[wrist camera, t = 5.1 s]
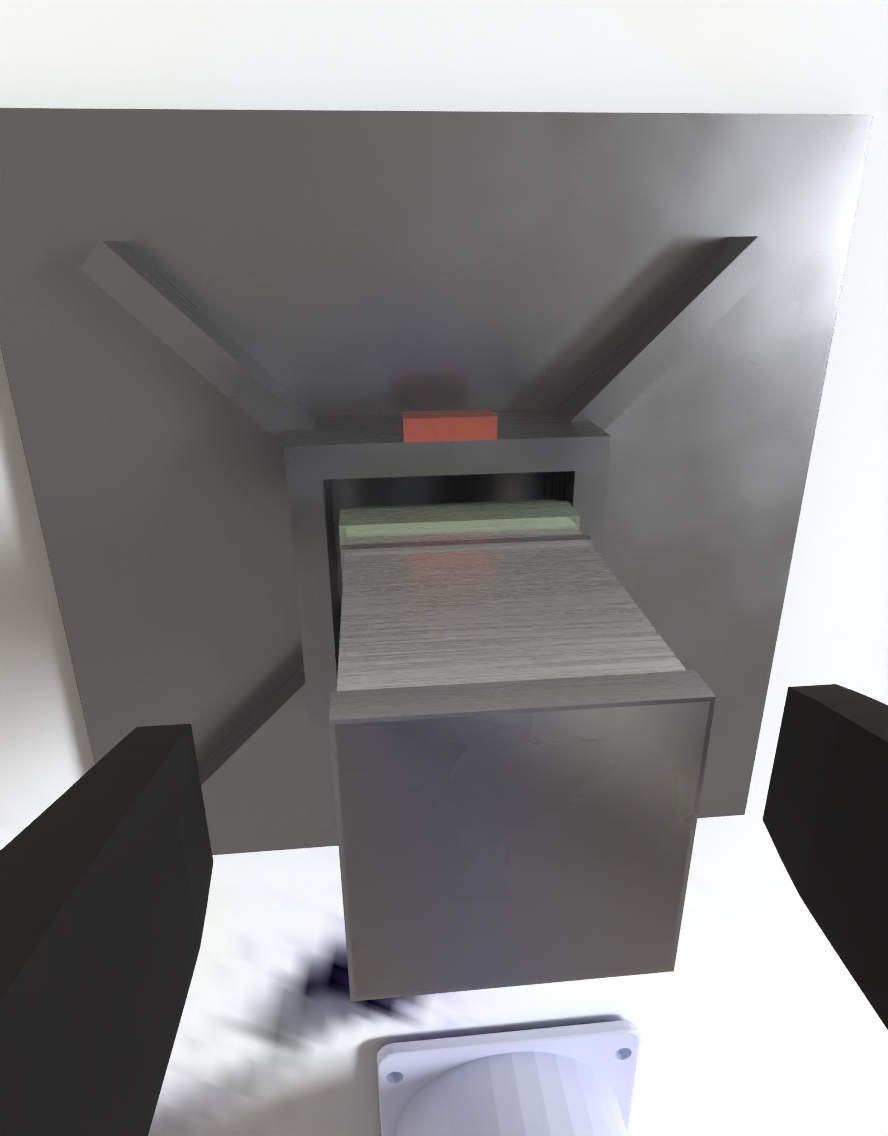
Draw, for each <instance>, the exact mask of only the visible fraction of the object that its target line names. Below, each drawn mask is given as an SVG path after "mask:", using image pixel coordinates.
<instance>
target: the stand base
mask: <svg viewBox="0 0 888 1136" xmlns="http://www.w3.org/2000/svg"><path fill="white" fill-rule="evenodd" d="M872 118H873V115H839V114H707V113H575V112H443V111H311V110H180V109H48V108H0V345H1V349H2V353H3V358H4V362H5V367H6V371H7V376H8V380H9V384H10V389H11V393H12V398H13V402H14V407H15V411H16V415H17V420H18V424H19V429H20V433H21V438H22V442H23V446H24V451H25V455H26V460H27V464H28V469H29V473H30V478H31V482H32V486H33V491H34V495H35V500H36V504H37V509H38V513H39V517H40V522H41V526H42V531H43V535H44V540H45V544H46V548H47V553H48V557H49V562H50V566H51V571H52V575H53V579H54V584H55V588H56V593H57V597H58V602H59V606H60V611H61V615H62V619H63V624H64V628H65V633H66V637H67V642H68V646H69V650H70V655H71V659H72V664H73V668H74V673H75V677H76V681H77V686H78V690H79V695H80V699H81V704H82V708H83V712H84V717H85V721H86V726H87V730H88V735H89V739H90V743H91V748H92V752H93V757H94V761H95V764H96V763H97V762H98V761H99V760H100V759H102V758H103V757H104V756H105V755H106V754H107V753H108V752H109V751H110V750H111V749H112V748H113V747H115V746H116V745H117V744H118V743H119V742H120V741H121V740H122V739H123V738H124V737H126V736H127V735H128V734H129V733H130V732H132V731H133V730H134V729H135V728H136V727H143V726H160V725H176V724H191V726H192V732H193V739H194V745H195V751H196V757H197V763H198V770H199V776H200V782H201V788H202V795H203V801H204V807H205V813H206V819H207V826H208V832H209V838H210V844H211V850H212V855H219V854H232V853H245V852H259V851H272V850H285V849H298V848H311V847H324V846H338V845H339V843H338V830H337V817H336V804H335V792H334V779H333V766H332V753H331V740H330V728H329V713H330V698H331V691H337V677H338V659H339V642H340V625H341V607H342V590H343V581H342V566H341V550H340V534H339V519H340V509H347V507H366V506H393V505H420V504H446V503H473V502H500V501H526V500H553V499H556V500H557V501H568V502H569V503H570V504H571V505H572V507H573V508H574V509H575V510H576V512H577V513H578V514H579V515H580V527H579V530H580V531H581V533H582V534H583V535H590V537H591V538H592V539H593V541H592V547H593V548H594V550H595V551H596V552H597V554H598V555H599V556H600V558H601V559H602V560H603V561H604V563H605V564H606V565H607V567H608V568H609V569H610V571H611V572H612V573H613V575H614V576H615V577H616V579H617V580H618V581H619V582H620V584H621V585H622V586H623V588H624V589H625V590H626V592H627V593H628V594H629V596H630V597H631V598H632V600H633V601H634V602H635V603H636V605H637V606H638V607H639V609H640V610H641V611H642V613H643V614H644V615H645V617H646V618H647V619H648V620H649V622H650V623H651V624H652V626H653V627H654V628H655V630H656V631H657V632H658V634H659V635H660V636H661V638H662V639H663V640H664V641H665V643H666V644H667V645H668V647H669V648H670V649H671V651H672V652H673V653H674V655H675V656H676V657H677V659H678V660H679V661H680V662H681V664H682V665H683V666H684V668H685V669H686V670H687V671H690V670H695V671H696V672H697V673H698V674H699V676H700V677H701V678H702V680H703V681H704V682H705V683H706V685H707V686H708V687H709V689H710V690H711V691H712V692H713V694H714V695H715V696H716V699H715V706H714V712H713V719H712V725H711V732H710V738H709V745H708V751H707V758H706V764H705V771H704V777H703V784H702V790H701V797H700V803H699V810H698V816H697V818H706V817H719V816H732V815H744V814H745V809H746V804H747V798H748V793H749V787H750V782H751V776H752V771H753V765H754V760H755V755H756V749H757V744H758V738H759V733H760V727H761V722H762V717H763V711H764V706H765V700H766V695H767V689H768V684H769V678H770V673H771V668H772V662H773V657H774V651H775V646H776V640H777V635H778V630H779V624H780V619H781V613H782V608H783V602H784V597H785V591H786V586H787V581H788V575H789V570H790V564H791V559H792V553H793V548H794V543H795V537H796V532H797V526H798V521H799V515H800V510H801V504H802V499H803V494H804V488H805V483H806V477H807V472H808V466H809V461H810V456H811V450H812V445H813V439H814V434H815V428H816V423H817V417H818V412H819V407H820V401H821V396H822V390H823V385H824V379H825V374H826V369H827V363H828V358H829V352H830V347H831V341H832V336H833V330H834V325H835V320H836V314H837V309H838V303H839V298H840V292H841V287H842V282H843V276H844V271H845V265H846V260H847V254H848V249H849V243H850V238H851V233H852V227H853V222H854V216H855V211H856V205H857V200H858V195H859V189H860V184H861V178H862V173H863V167H864V162H865V156H866V151H867V146H868V140H869V135H870V129H871V124H872Z"/></svg>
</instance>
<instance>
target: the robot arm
mask: <svg viewBox="0 0 888 1136" xmlns="http://www.w3.org/2000/svg"><path fill="white" fill-rule="evenodd" d="M763 821H764V823H765V826H766V828H767V830H768V832H769V834H770V836H771V838H772V841H773V843H774V845H775V847H776V849H777V851H778V853H779V856H780V858H781V860H782V862H783V864H784V866H785V868H786V870H787V872H788V874H789V876H790V878H791V880H792V881H793V883H794V885H795V887H796V889H797V891H798V893H799V895H800V897H801V898H802V900H803V901H804V903H805V905H806V906H807V908H808V909H809V911H810V913H811V914H812V916H813V917H814V919H815V920H816V922H817V923H818V925H819V926H820V928H821V930H822V931H823V933H824V934H825V936H826V937H827V939H828V940H829V942H830V943H831V945H832V946H833V948H834V950H835V951H836V953H837V954H838V956H839V957H840V959H841V960H842V962H843V963H844V965H845V966H846V968H847V969H848V971H849V972H850V974H851V975H852V977H853V978H854V980H855V981H856V983H857V984H858V986H859V987H860V989H861V990H862V992H863V993H864V995H865V996H866V998H867V999H868V1001H869V1002H870V1004H871V1005H872V1007H873V1008H874V1010H875V1011H876V1013H877V1014H878V1016H879V1017H880V1019H881V1020H882V1022H883V1023H884V1025H885V1026H886V1028H887V1029H888V705H886V704H883V703H881V702H879V701H877V700H874V699H872V698H870V697H867V696H865V695H863V694H860V693H858V692H855V691H853V690H850V689H847V688H844V687H842V686H839V685H836V684H832V685H815V686H799V687H788V692H787V697H786V702H785V707H784V712H783V718H782V723H781V728H780V733H779V738H778V743H777V748H776V754H775V759H774V764H773V769H772V774H771V779H770V785H769V790H768V795H767V800H766V805H765V810H764V815H763ZM212 867H213V857H212V850H211V844H210V838H209V832H208V826H207V819H206V813H205V807H204V801H203V795H202V788H201V782H200V776H199V770H198V763H197V757H196V751H195V745H194V739H193V732H192V726H191V724H176V725H160V726H143V727H136V728H135V729H134V730H133V731H132V732H130V733H129V734H128V735H127V736H126V737H124V738H123V739H122V740H121V741H120V742H119V743H118V744H117V745H116V746H115V747H113V748H112V749H111V750H110V751H109V752H108V753H107V754H106V755H105V756H104V757H103V758H102V759H100V760H99V761H98V762H97V763H96V764H95V765H94V766H93V767H92V768H91V769H90V770H89V771H88V772H87V773H85V774H84V775H83V776H82V777H81V778H80V779H79V780H78V781H77V782H76V783H75V784H74V785H73V786H71V787H70V788H69V789H68V790H67V791H66V792H65V793H64V794H63V795H62V796H61V797H59V798H58V799H57V800H56V801H55V802H54V803H53V804H52V805H51V806H50V807H48V808H47V809H46V810H45V811H44V812H43V813H42V814H41V815H40V816H38V817H37V818H36V819H35V820H34V821H33V822H32V823H31V824H30V825H28V826H27V827H26V828H25V829H24V830H23V831H22V832H21V833H20V834H18V835H17V836H16V837H15V838H14V839H13V840H12V841H11V842H10V843H8V844H7V845H6V846H5V847H4V848H3V849H2V850H0V1136H148V1134H149V1130H150V1126H151V1123H152V1119H153V1116H154V1112H155V1109H156V1105H157V1101H158V1098H159V1094H160V1091H161V1087H162V1084H163V1080H164V1076H165V1073H166V1069H167V1066H168V1062H169V1059H170V1055H171V1051H172V1048H173V1044H174V1041H175V1037H176V1034H177V1030H178V1027H179V1023H180V1019H181V1016H182V1012H183V1008H184V1005H185V1001H186V997H187V994H188V990H189V987H190V983H191V979H192V976H193V972H194V968H195V964H196V961H197V957H198V953H199V949H200V945H201V939H202V933H203V927H204V921H205V914H206V908H207V902H208V895H209V888H210V881H211V874H212ZM639 1044H640V1036H639V1033H638V1030H637V1027H636V1026H635V1024H634V1023H632V1022H629V1021H623V1020H621V1021H611V1022H601V1023H591V1024H581V1025H571V1026H561V1027H551V1028H540V1029H530V1030H520V1031H510V1032H500V1033H490V1034H480V1035H470V1036H460V1037H450V1038H440V1039H430V1040H419V1041H409V1042H399V1043H391V1044H387V1045H385V1046H384V1047H382V1048H381V1049H380V1050H379V1051H378V1054H377V1073H378V1089H379V1106H380V1122H381V1136H628V1134H627V1131H628V1124H629V1117H630V1109H631V1102H632V1095H633V1087H634V1080H635V1073H636V1065H637V1058H638V1051H639Z"/></svg>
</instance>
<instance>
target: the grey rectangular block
mask: <svg viewBox="0 0 888 1136" xmlns="http://www.w3.org/2000/svg"><path fill="white" fill-rule="evenodd" d="M579 527H580V515H579V514H578V513H577V512H576V510H575V509H574V508H573V507H572V505H571V504H570V503H569V502H568V501H557V500H556V499H553V500H526V501H500V502H473V503H446V504H420V505H393V506H366V507H347V509H340V519H339V534H340V550H341V566H342V581H343V590H342V607H341V625H340V642H339V659H338V677H337V691H331V698H330V713H329V728H330V740H331V753H332V766H333V779H334V792H335V804H336V817H337V830H338V843H339V856H340V868H341V881H342V894H343V907H344V920H345V932H346V945H347V958H348V971H349V984H350V996H351V1001H360V1000H371V999H382V998H392V997H403V996H414V995H424V994H435V993H446V992H456V991H467V990H478V989H488V988H499V987H510V986H520V985H531V984H542V983H552V982H563V981H573V980H584V979H595V978H605V977H616V976H627V975H637V974H648V973H659V972H669V971H674V966H675V959H676V953H677V946H678V940H679V933H680V927H681V920H682V914H683V907H684V901H685V894H686V888H687V881H688V875H689V868H690V862H691V855H692V849H693V842H694V836H695V829H696V823H697V816H698V810H699V803H700V797H701V790H702V784H703V777H704V771H705V764H706V758H707V751H708V745H709V738H710V732H711V725H712V719H713V712H714V706H715V699H716V696H715V695H714V694H713V692H712V691H711V690H710V689H709V687H708V686H707V685H706V683H705V682H704V681H703V680H702V678H701V677H700V676H699V674H698V673H697V672H696V671H695V670H690V671H687V670H686V669H685V668H684V666H683V665H682V664H681V662H680V661H679V660H678V659H677V657H676V656H675V655H674V653H673V652H672V651H671V649H670V648H669V647H668V645H667V644H666V643H665V641H664V640H663V639H662V638H661V636H660V635H659V634H658V632H657V631H656V630H655V628H654V627H653V626H652V624H651V623H650V622H649V620H648V619H647V618H646V617H645V615H644V614H643V613H642V611H641V610H640V609H639V607H638V606H637V605H636V603H635V602H634V601H633V600H632V598H631V597H630V596H629V594H628V593H627V592H626V590H625V589H624V588H623V586H622V585H621V584H620V582H619V581H618V580H617V579H616V577H615V576H614V575H613V573H612V572H611V571H610V569H609V568H608V567H607V565H606V564H605V563H604V561H603V560H602V559H601V558H600V556H599V555H598V554H597V552H596V551H595V550H594V548H593V547H592V541H593V539H592V538H591V537H590V535H583V534H582V533H581V531H580V530H579Z"/></svg>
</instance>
